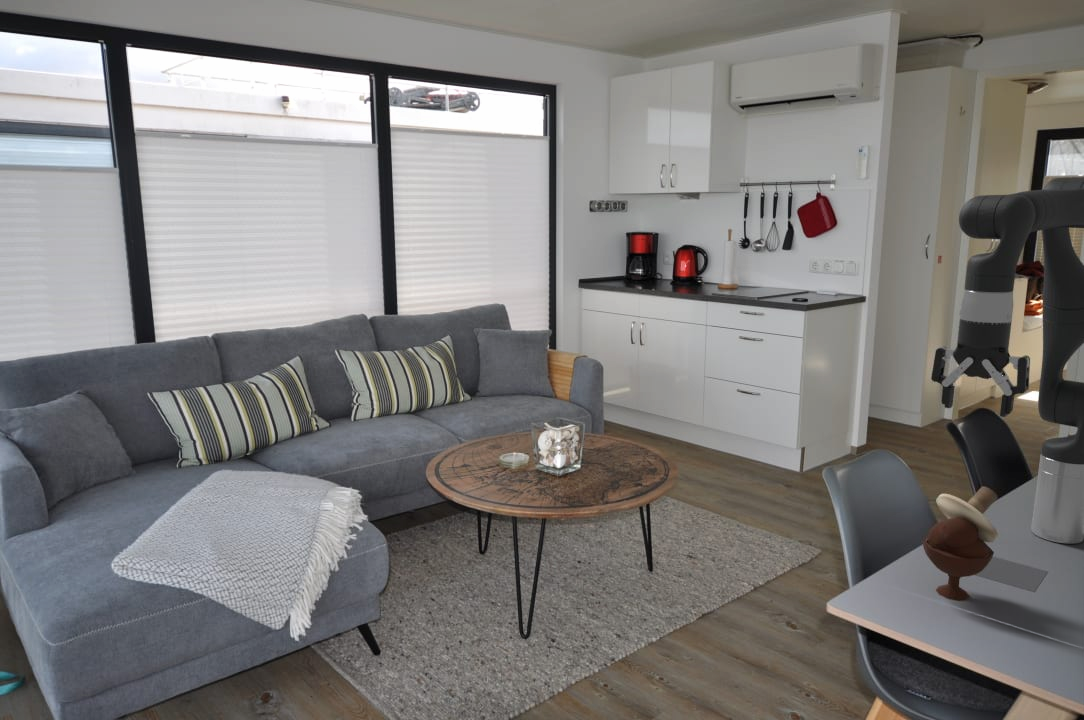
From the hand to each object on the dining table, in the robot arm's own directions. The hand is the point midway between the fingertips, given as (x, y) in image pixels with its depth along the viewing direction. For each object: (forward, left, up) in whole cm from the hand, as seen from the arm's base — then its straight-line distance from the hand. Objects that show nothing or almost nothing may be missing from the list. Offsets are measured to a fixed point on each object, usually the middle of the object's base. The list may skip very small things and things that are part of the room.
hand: (975, 411), depth 130 cm
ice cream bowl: (+1, 0, -34) cm, 34 cm away
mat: (-15, +5, -34) cm, 38 cm away
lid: (-1, 0, -20) cm, 20 cm away
